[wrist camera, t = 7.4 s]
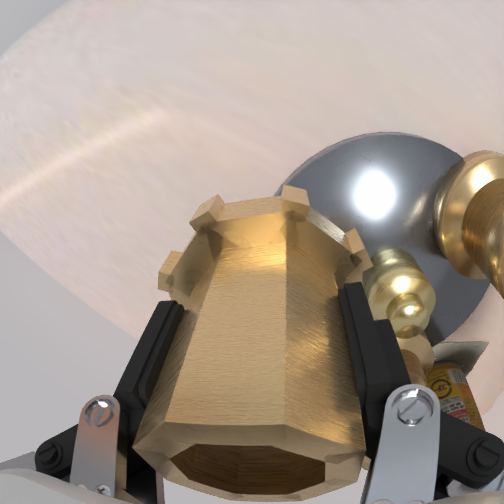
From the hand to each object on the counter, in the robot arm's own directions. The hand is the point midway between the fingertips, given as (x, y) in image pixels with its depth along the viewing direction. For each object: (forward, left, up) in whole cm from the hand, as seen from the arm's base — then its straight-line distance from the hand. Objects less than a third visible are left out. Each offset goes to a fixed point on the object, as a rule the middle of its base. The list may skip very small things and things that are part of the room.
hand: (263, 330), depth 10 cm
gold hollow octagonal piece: (0, 0, -3) cm, 3 cm away
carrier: (-7, +5, -8) cm, 12 cm away
